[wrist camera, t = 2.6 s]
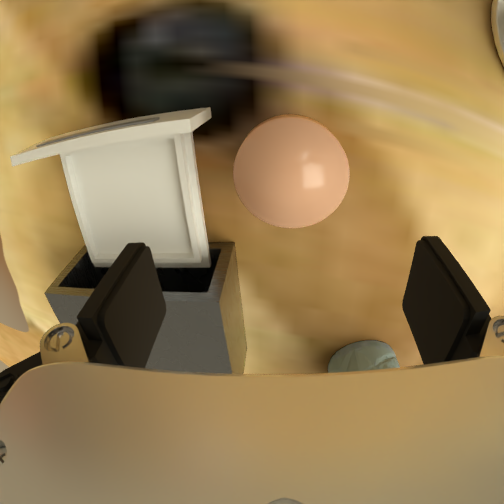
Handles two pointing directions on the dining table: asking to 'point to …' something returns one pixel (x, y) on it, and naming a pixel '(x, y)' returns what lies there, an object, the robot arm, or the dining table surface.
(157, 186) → the white drawer
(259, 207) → the pink domed disc
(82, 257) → the housing
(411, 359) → the dining table surface
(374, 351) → the grey green tumbler
